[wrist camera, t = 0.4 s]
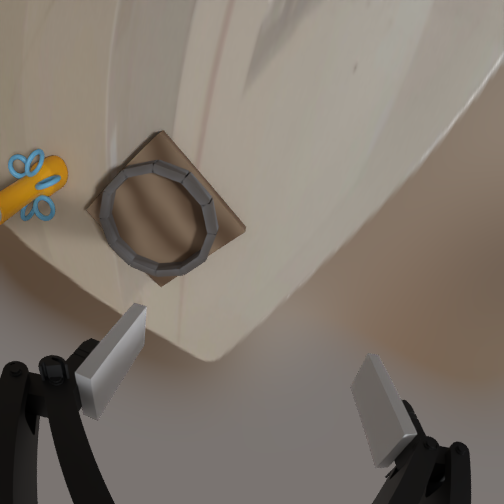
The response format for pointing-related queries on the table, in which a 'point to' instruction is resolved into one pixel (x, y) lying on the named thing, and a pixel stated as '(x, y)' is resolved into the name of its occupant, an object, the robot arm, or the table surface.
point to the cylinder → (32, 186)
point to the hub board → (163, 213)
